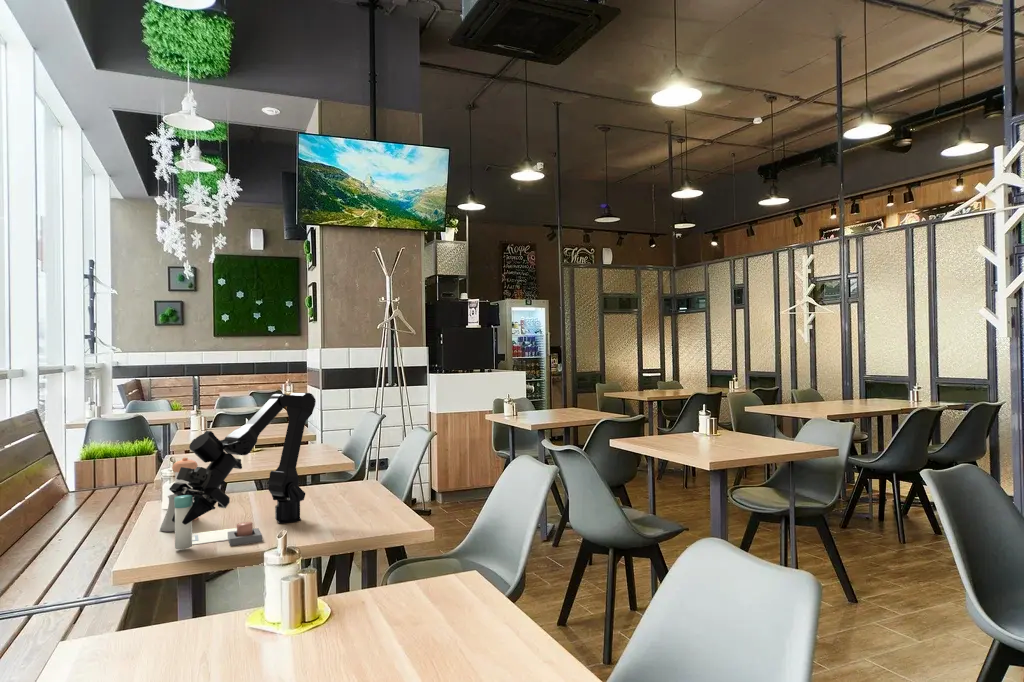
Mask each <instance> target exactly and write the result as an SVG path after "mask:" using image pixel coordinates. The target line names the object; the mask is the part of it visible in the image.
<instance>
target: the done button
mask: <svg viewBox="0 0 1024 682" xmlns="http://www.w3.org/2000/svg"><path fill="white" fill-rule="evenodd" d="M236 528H237V536H238V537H239V536H246V535H252V534H253V529H254V528H253V522H252V521H244V522H243V521H242V522H240V523H236Z"/></svg>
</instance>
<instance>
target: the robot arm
mask: <svg viewBox="0 0 1024 682" xmlns="http://www.w3.org/2000/svg"><path fill="white" fill-rule="evenodd" d="M264 403H265V404H263V405H262V406H261V408H260V409H259V410H258V411H257V412H256V413H255V414H254V415H253V416H251V418H250V419H249V420H248V421H247V422H246V423H245V424H244V425H242V426H241V427H238V428H236V429H235V430H233V431H231V432H230V433H229V434H228V435H226V436H225V437H224V438H223V439H219V438H217V436H216V435H215V434H214V432H213V431H212V430H205V432H204V433H202V434H199V435H198V436H196V438H194V439H192V441H190V444H189V450H190V451H191V452H192V453H194V454H195V455H196V456H197V457H198V458H199V459H200V460H201V461H202V462H203V463H209V464H208V465H207V466H206V468H205V467H203V466H197V468H196V469H191V468H184V467H181V468H180V471H179V473H178V476H177V478H176V479H178V480H184V481H187V482H189V483H188V485H190V486H191V487H193V488H190V487H189V486H188V485H187V484H186V483H180V482H177V483H175V482H174V483H172V485H171V486H170V487H169V489H168V490H169V491H170V492H172V494H175V495H176V496H182V495H192V507H191V508H190V510H189V512H188V513H187V515H186V516H185V518H184V520H183V521H182V523H183V524H184V525H186V524H188V523H189V522H191V521H192V522H193V520H194V519H196V518H198V519H199V517H201V516H203V515H204V514H206V513H209V512H211V511H212V510H215V509H216V507H215V505H216V504H217V507H218V508H220V509H226V508H227V507H228V506H229V504H230V501H231V500H230V499H231V498H230V497H229V496H228V495H227V494H226V493H225V492H224V491H223V490H221V488H220V486H225V485H226V484H227V482H226V481H225V480H226V479H227V477H228V476H229V474H230V473H231V472H232V470H233V469H238V470H242V469H243V463H242V459H241V458H236V457H235V456H234V455H236V456H247V455H249V454H250V453H251V452H252V450H253V449H254V447H255V445H257V442H258V437H259V436H260V435H261V433H262V432H263V431H264V430H265V429H266V428H267V426H268V425H269V424H270V423H271V422H272V421H273V420H274V419H275V418H276V417H277V416H278V415H279V413H280V412H281V411H282V410H283V409H284V408H285V407H286V413H287V417H288V422H287V428H286V432H285V433H286V434H285V437H284V442H283V447H282V451H281V455H280V456H281V457H280V460H279V464H278V466H277V468H276V469H275V470H271V471H270V472H269V478H268V481H267V484H266V485H268V489H267V490H268V491H269V493H270V494H271V497H272V500H273V501H276V505H275V506H274V510H275V511H274V514H275V516H274V517H275V520H276V521H277V523H278V524H287V523H288V524H289V523H294V522H295V523H297V522H301V521H302V518H301V502H302V501H304V500H305V498H306V492H305V491H304V490H303V489H302V488H301V487H300V486H299V481H300V480H299V479H300V478H299V475H298V471H297V466H298V465H297V464H298V459H299V456H300V450H301V446H302V440H303V436H304V431H305V428H306V427H305V425H306V422H307V421H308V420H309V418H310V417H311V416H312V415H313V412H314V409H315V406H316V403H317V402H316V398H315V396H314V395H313V394H312V393H311V392H292V393H290V394H285V393H274V394H272V395H270V397H269V399H268V400H267V402H264ZM193 501H194V502H193ZM196 520H197V519H196ZM172 521H173V522H174V523H175V513H174V516H173V519H172ZM194 521H195V520H194Z"/></svg>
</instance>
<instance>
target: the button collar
mask: <svg viewBox="0 0 1024 682" xmlns="http://www.w3.org/2000/svg"><path fill="white" fill-rule="evenodd" d="M227 541H228V544H229V546H230V547H231V546H239V545H246V544H254V543H262V542H263V534H262V532H261V530H260V529H259V527H258V528H257V527H256V528H255V527H254V528H253V534H252V535H246V536H239V537H238V536H237V531H231V532H228V540H227Z"/></svg>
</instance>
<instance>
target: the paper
mask: <svg viewBox="0 0 1024 682" xmlns="http://www.w3.org/2000/svg"><path fill="white" fill-rule="evenodd" d="M231 531H237V527H235V528H226V529H217V530H211V531H202V532H192V546H196V545H204V544H209V543H210V544H211V543H218V542H226V541H228V532H231Z"/></svg>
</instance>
